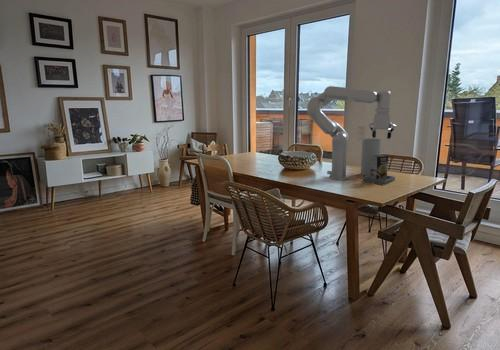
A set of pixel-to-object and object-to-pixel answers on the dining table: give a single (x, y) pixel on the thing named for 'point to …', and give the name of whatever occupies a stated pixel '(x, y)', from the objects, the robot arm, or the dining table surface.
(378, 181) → the tray
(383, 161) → the coffee box
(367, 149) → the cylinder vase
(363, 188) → the dining table surface
